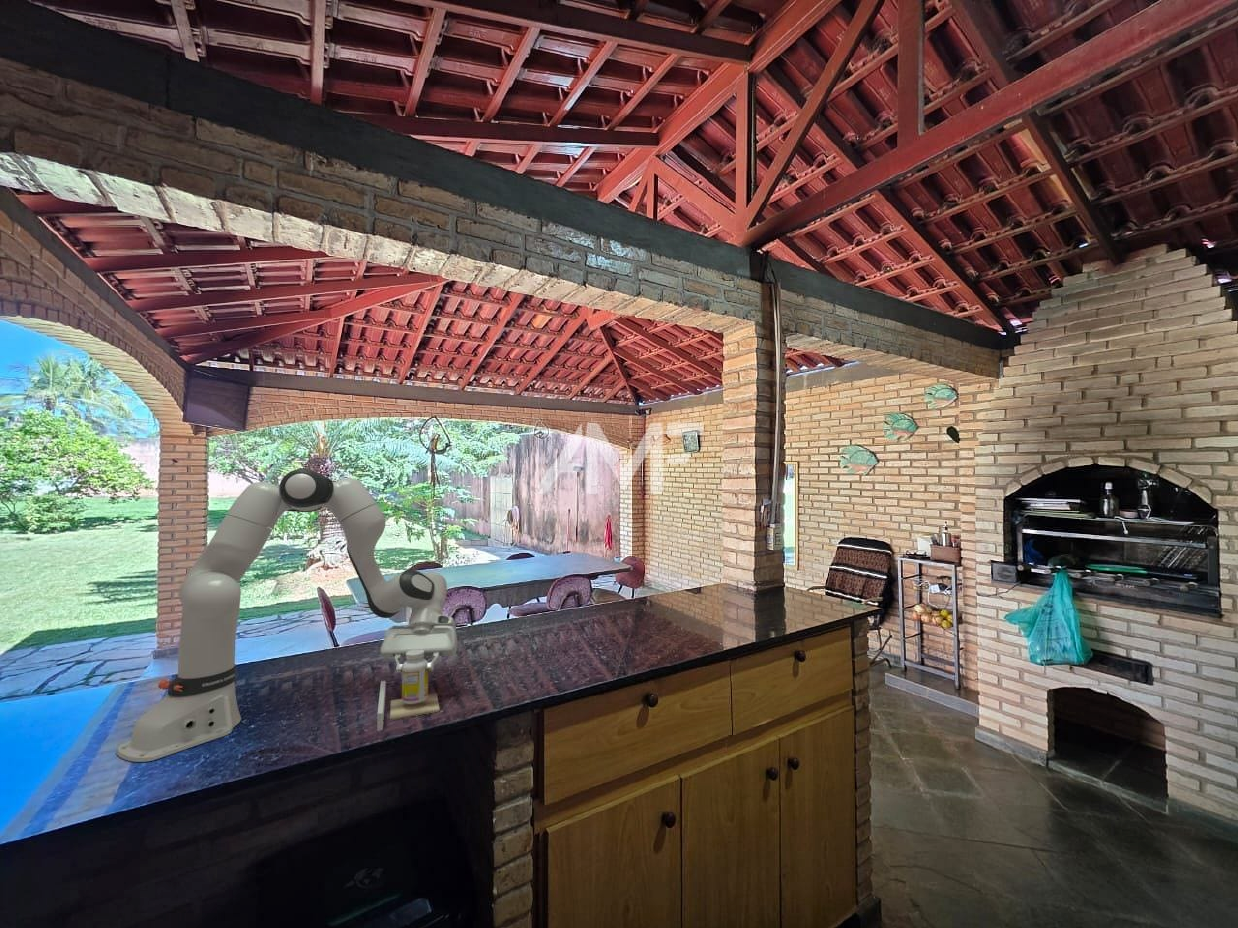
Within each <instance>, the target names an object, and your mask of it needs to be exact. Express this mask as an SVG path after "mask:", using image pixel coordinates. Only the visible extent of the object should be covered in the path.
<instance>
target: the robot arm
mask: <svg viewBox="0 0 1238 928" xmlns="http://www.w3.org/2000/svg"><path fill="white" fill-rule="evenodd" d="M322 508H326V509H327V510H329V511H330V512H331V513H332V514H333V516H334V517H335V519H336V520H337V522H338V523H339V525H340V527H341V529H342V530H343V534H344V536H345V539H346V552H347V555H348V557H349V560H350V562H351V564H352V567H353V568H354V571H355V572H356V575H357V578H358V579H359V582H360V584H361V586H362V588H363V590H364V593H365V596H366V601H367V604H368V607H369V610H370V611H371V612H372V614H374V615H375V616H377V617H380V618H381V619H389V618H393V617H394V616H395V615H397V614H399V613H400V612H401V611H402V610H404V609H406V608H407V607H408V608H411V613H410V618H409V622H408V624H407V625H406V624H404V625H403V624H402V625H392V627H389V628H388V629H387V630H386V631H385V633H384V639H383V641H382V643H381V647H380V650H379V651H380V654H381V656H382V657H383V659H385V660H387V659H388V660H389V659H391V660H392V659H394V660H395V663H396V668H395V672H396V674H398V673H399V674H400V673H401V674H402V665H403V664H404V663H400V662H402V660H403V659H406V653H407V652H408V651H411V650H424V657H423V658H426V657H427V658H429V657H433V659H432V660H431V662H428V664H427V671H428V672H433V671H434V670H435V669H434V668H435V666H436V664H437V663H438V662H439V661H440V659H441V657H450V656H454V655H455V654H456V653H457V650H458V636H457V632H456V631H457V624H456V621H455V619H454V618H453V617H452V616H449V615H444V614H443V609H444V607H445V604H446V599H447V593H448V590H447V589H448V586H447V580H446V578H445V577H444V576H443V575H441V574H440V573H437V572H427V573H426V572H425V573H422V572H420V571H418V570H416V569H406V570H404V571H402V572H400V573H398V574H397V575H395V576H393V577H392V578H390V579H388V580H386V579H385V578H384V576H383V574H382V571H381V570H380V569H381V568H380V567H379V565H378V562H377V560H376V559H375V549H376V547H377V544H378V541H380V538H381V537H382V536H383V534H384V530H386V529H385V528H386V522H387V521H386V517H385V515H384V513H383V511H382V509H381V508H380V506H379V504H378V503H377V502H376V500H375V499H374V497H373V496H372V495H371V493H370V492H369V491H368V490H367V488H365V486H364V485H363V484H362V483H361V482H360V481H359V480H357V479H355V478H351V477H347V478H346V477H345V478H342V479H338V480H337V481H332V479H331V478H329V477H326V476H325V475H323V474H322V473H319V472H318V471H315V470H312V469H308V468H297V469H294V470H291V471H289V472H288V473H286V474H285V475H284V476H283V477H282V478H281V481H280V482H279V484H273V483H269V482H265V481H259V482H254V483H251V484H249V485H248V486H246V488H245V489H244V490H243V491H242V492H241V493H240V494H239V495H238V497H237V498H236V499H235V501H234V502H233V503H232V505H231V506H230V508H229V509H228V511H227V512H226V515H225V516H224V518H223V519H222V521H221V523H220V524H219V526H218V527H217V530H216V531H215V533H214V535H212V538H211V540H210V541H209V543H208V544H207V546H206V547H205V549H203V551H202V553H201V554H200V555H199V557H197V560H196V561H195V563H194V564H193V566H191V568H190V570H189V571H188V573H187V574H186V576H185V578H184V579H183V581H182V583H181V584H180V586H179V588H178V599H179V601H180V603H181V622H180V632H179V640H178V653H177V654H178V655H177V656H178V657H177V674H176V675H175V677H174V678H173V679H172V680H167V679H162V680H160V681H159V683H158V684H157V688H159V690H160V689H161V690H162V691H163V690H167V694H166V695H165V696H163V698H162V699H160V700H159V701H158V702H157V703H156V704H155V705H153V706H152V707H151V708H150V709H148V711H147V712H146V711H145V713H144V714H142V716H140V717H139V718H138V719H137V720H136V722H135V724H134V726H133V729H132V734H131V738H130V740H127V741H126V742H123V743H121V744H120V745H118V747H117V751H116V755H117V756H118V757H119V758H121V759H123V760H125V761H129V762H135V763H136V762H137V763H139V762H140V763H143V762H145V763H146V762H151V761H155V760H158V759H161V758H164V757H167V756H170V755H173V754H176V753H178V752H181V751H184V750H187V749H190V748H193V747H195V746H199V745H201V744H205V743H207V742H210V741H213V740H216V739H219V738H222V737H225V736H227V735H229V734H231V733H232V732H233V729H234V728H235V727H236V726H237V725H238V724H240V722H241V720H242V717H241V714H240V710H239V707H238V702H237V697H236V696H237V695H236V685H237V681H238V680H237V677H238V669H237V664H236V635H237V628H238V623H239V615H240V608H241V607H240V605H241V592H242V591H241V586H240V584H239V582H241V580H242V578H243V577H244V575H245V574H246V572H247V570H248V569H249V568H250V567H251V565H252V564H253V563H254V562H255V560H257V559H258V557H259V555H260V553H262V550H263V548H264V546H265V544H266V542H267V541H268V539H269V537H270V535H271V534H272V531H274V530H273V529H274V528H275V527H276V524H277V523H278V520H279V519H280V517H282V515H283V514H284V513H285V512H295V513H296V512H298V513H313V512H317V511H319V510H320V509H322Z"/></svg>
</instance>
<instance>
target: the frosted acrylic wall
mask: <svg viewBox="0 0 1238 928" xmlns="http://www.w3.org/2000/svg"><path fill="white" fill-rule="evenodd" d="M386 681H387V680H381V681H380V689H379V698H378V705H377V722H376V723H377V724H376V725H377V726H376V728H377V729H376V730H377V731H380V730H384V721H383V720H384V718H385V708H386V707H385V705H386V704H385V703H386V693H387V692H386V686H387V685H386ZM377 731H376V732H377Z"/></svg>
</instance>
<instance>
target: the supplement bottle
mask: <svg viewBox="0 0 1238 928" xmlns="http://www.w3.org/2000/svg"><path fill="white" fill-rule="evenodd" d="M405 659H406V660H405V662H403V663H402V664H403V665H402V673H401V699H402V701H403V702H404V703H406V704H415V703H419V702H422V701H424V700H425V699H426V698H427V697H428V694H429V671H427V664H428V663H429V662H428V660H427V659H425V657H424V650H411V651H408V652H407V653H406V658H405Z"/></svg>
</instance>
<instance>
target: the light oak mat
mask: <svg viewBox="0 0 1238 928" xmlns="http://www.w3.org/2000/svg"><path fill="white" fill-rule="evenodd" d="M440 710H441V709H440V703H439V699H438V692H434V693H428V697H427V698H426V699H425V700H424V701H422V702H419V703H415V704H406V703H404V702H403V701H402V698H398V699H397V698H396V699H392V700H390V710H389V711H390V713H389V721H390V720H394V719H400V718H405V717H411V716H416V717H419V716H418V715H422V714H427V715H430V714H429V713H433V714H435V713H434V712H438V711H440ZM440 712H441V711H440ZM438 713H439V712H438ZM422 716H423V715H422ZM411 718H412V717H411ZM405 719H406V718H405ZM400 720H401V719H400Z"/></svg>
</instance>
